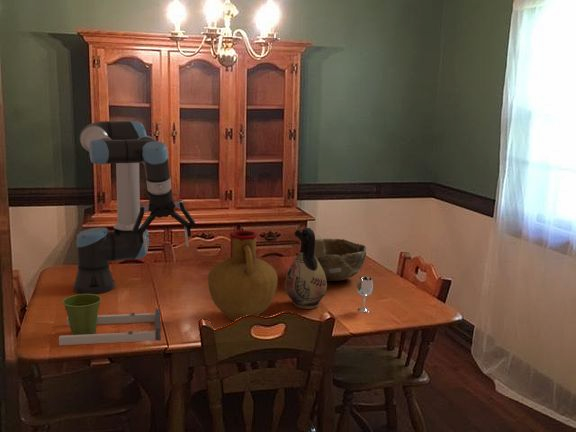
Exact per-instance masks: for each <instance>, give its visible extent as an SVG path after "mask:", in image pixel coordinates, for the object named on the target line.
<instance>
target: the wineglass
mask: <svg viewBox="0 0 576 432" xmlns="http://www.w3.org/2000/svg"><path fill="white" fill-rule="evenodd" d="M356 290H357V293H358V295H361V296H363V297H362V300H363V301H362V302H363V306H362V307H361V308H359V307H358V308H357V311H358V312H360V313H364V312H366V313H369V312H370V311H371V310H370V309H369V308H367V307H366V299H367V298H366V297H367V296H370V295H372V293H373V292H374V291H373V290H374V283H373V279H372V278H371V277H369V276H360V277H358V280H357V285H356Z"/></svg>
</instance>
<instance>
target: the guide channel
mask: <svg viewBox="0 0 576 432" xmlns="http://www.w3.org/2000/svg"><path fill="white" fill-rule="evenodd" d="M150 322H151V323H152V322H153V323H154V325H155V327H154V330H151V331H147V330H146V331H132V330H131V331H130V330H129V331H127V332H111V333H94V334H86V335H73V334H68V335H59V337H58V344H59V346H75V345H76V346H77V345H92V344H93V345H94V344H113V343H129V342H149V341H150V342H151V341H154V342H155V341H161V308H155V312H147V313H146V312H145V313H135V312H131V313H123V314H122V313H121V314H102V315H101V314H100V315H99V314H98V316H97V324H96V325H104V324H105V325H107V324H111V325H112V324H131V323H132V324H133V323H150ZM66 325H67V326H68V327H70V323H69V319H68V316H67V317H66Z"/></svg>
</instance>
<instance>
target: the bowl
mask: <svg viewBox="0 0 576 432" xmlns="http://www.w3.org/2000/svg"><path fill="white" fill-rule="evenodd" d="M314 256H315V257H316V259H317V260H318V262H319V263H320V265H321V267H322V268H323V270H324V273H325V276H326V281H327V282H338V281H345V280H347V279H350V278H352V277H354V276H355V275H357V274H358V273H359V271H361V269H362V268H363V265H364V263H365V260H366V256H367V248H366V245H364V244H359V243H356V242H352V241H349V240H347V239H345V238H344V239H343V238H342V239H341V238H322V239H321V238H319V239H318V238H317V239H316V238H315V249H314Z"/></svg>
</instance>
